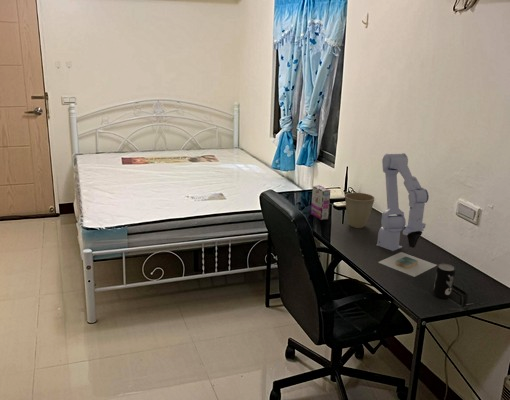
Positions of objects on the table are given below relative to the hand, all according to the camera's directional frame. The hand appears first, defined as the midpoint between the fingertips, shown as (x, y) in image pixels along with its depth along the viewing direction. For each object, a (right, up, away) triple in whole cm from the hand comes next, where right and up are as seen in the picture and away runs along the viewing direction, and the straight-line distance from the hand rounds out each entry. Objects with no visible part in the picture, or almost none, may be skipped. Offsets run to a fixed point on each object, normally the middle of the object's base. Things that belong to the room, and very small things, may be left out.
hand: (412, 246), depth 215 cm
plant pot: (-14, +7, +46) cm, 49 cm away
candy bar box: (-32, +11, +59) cm, 68 cm away
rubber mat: (-2, -8, +1) cm, 8 cm away
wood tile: (+1, -6, +3) cm, 7 cm away
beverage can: (+4, -16, -25) cm, 30 cm away
